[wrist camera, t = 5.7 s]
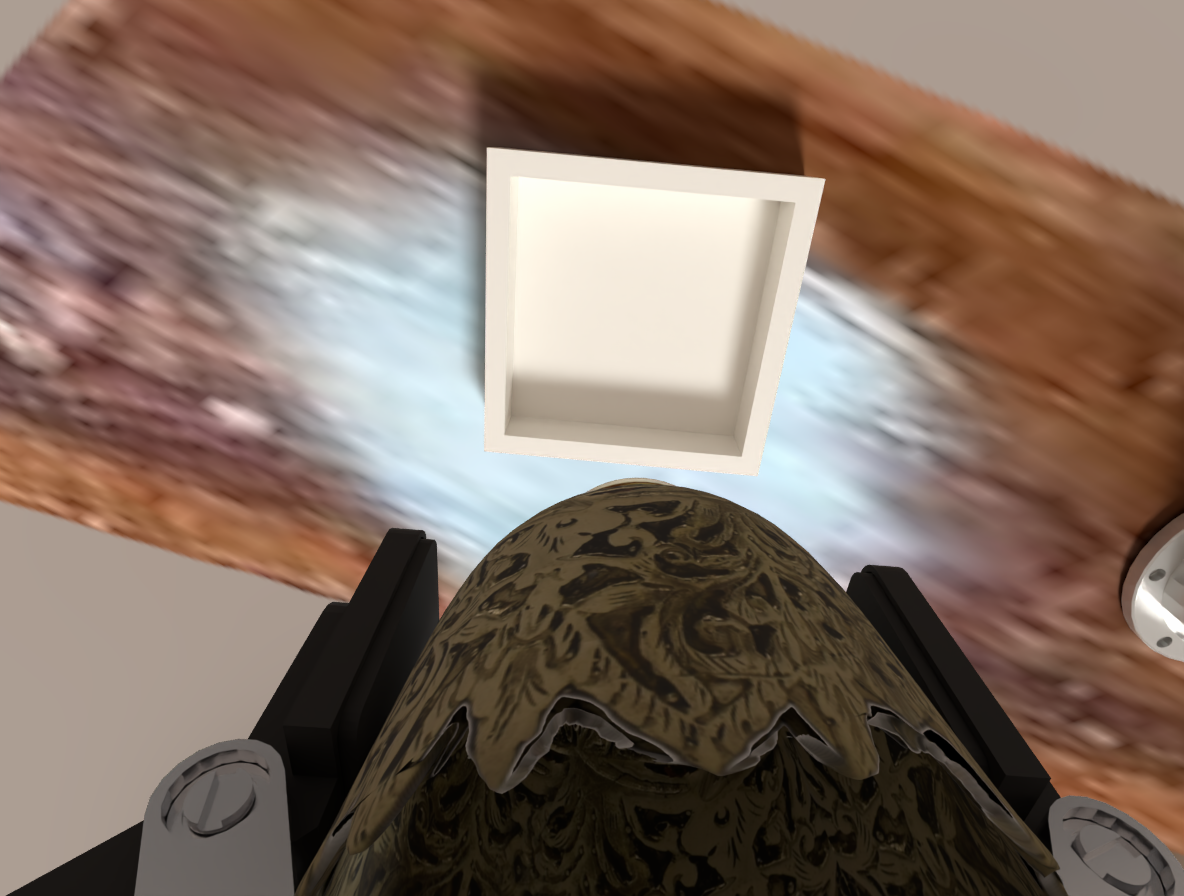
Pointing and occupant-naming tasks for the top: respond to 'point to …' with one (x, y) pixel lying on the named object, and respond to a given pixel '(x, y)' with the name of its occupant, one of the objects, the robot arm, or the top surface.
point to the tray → (639, 307)
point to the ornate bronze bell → (667, 730)
